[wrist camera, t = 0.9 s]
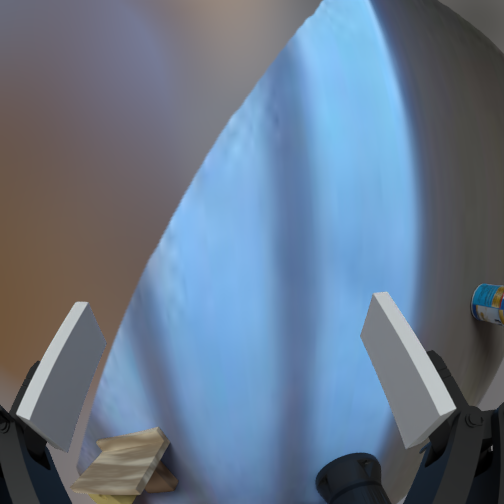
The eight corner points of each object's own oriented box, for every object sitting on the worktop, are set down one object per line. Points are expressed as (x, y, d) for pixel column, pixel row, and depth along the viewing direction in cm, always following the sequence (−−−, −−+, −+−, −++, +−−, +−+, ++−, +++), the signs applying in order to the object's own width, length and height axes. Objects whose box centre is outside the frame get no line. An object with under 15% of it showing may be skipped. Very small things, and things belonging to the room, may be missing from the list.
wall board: (199, 477, 45) (181, 530, 28) (136, 485, 46) (110, 527, 28) (158, 426, 46) (124, 477, 28) (98, 439, 47) (61, 477, 29)
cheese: (94, 469, 47) (78, 487, 37) (114, 462, 47) (97, 483, 37) (121, 493, 46) (107, 513, 36) (143, 488, 46) (130, 511, 36)
